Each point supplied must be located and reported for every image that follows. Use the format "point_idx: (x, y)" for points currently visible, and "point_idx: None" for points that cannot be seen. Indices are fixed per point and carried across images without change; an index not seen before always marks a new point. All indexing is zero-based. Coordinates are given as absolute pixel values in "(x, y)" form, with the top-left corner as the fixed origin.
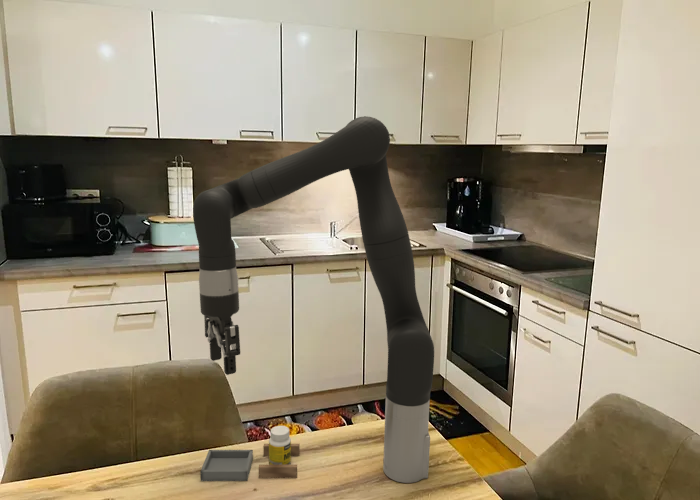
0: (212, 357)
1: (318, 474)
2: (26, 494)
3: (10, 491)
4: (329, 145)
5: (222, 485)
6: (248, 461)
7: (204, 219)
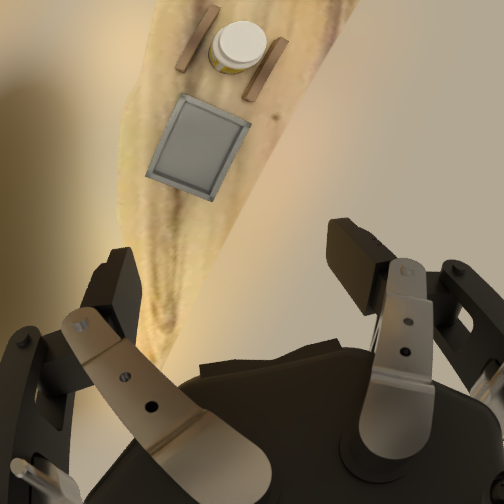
0: (139, 295)
1: (289, 11)
2: None
3: None
4: None
5: (238, 164)
6: (220, 112)
7: None
